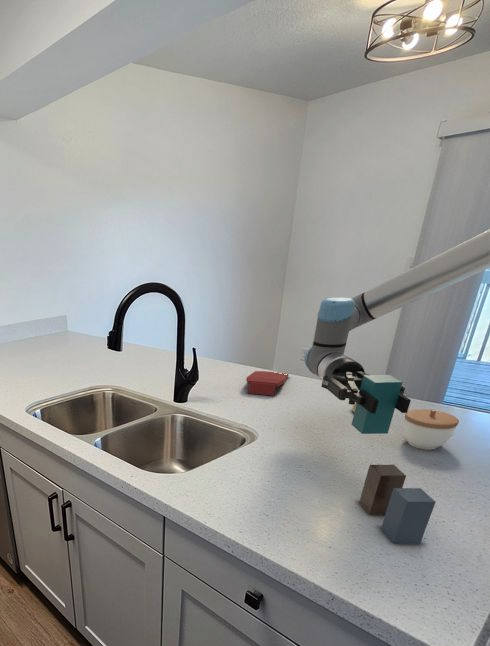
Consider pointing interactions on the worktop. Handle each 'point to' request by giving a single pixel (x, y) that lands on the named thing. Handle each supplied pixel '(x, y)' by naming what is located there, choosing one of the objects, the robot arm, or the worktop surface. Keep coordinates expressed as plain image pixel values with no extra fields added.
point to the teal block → (387, 395)
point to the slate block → (407, 515)
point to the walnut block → (380, 487)
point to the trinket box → (428, 428)
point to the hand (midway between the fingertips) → (390, 406)
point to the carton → (265, 382)
